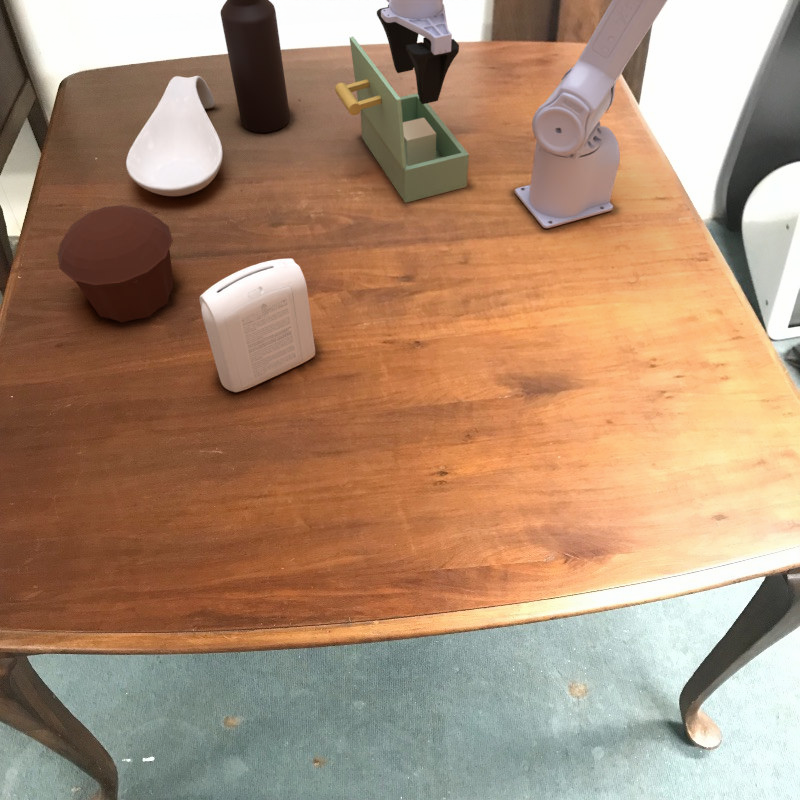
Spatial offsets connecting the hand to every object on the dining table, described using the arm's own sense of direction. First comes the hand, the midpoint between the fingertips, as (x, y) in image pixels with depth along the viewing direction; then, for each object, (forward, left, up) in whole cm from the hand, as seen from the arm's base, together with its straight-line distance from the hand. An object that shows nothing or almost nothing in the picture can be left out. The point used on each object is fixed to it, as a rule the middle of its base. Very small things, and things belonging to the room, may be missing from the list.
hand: (416, 85), depth 93 cm
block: (0, 0, -10) cm, 10 cm away
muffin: (+38, +11, -11) cm, 41 cm away
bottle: (+16, -17, -11) cm, 25 cm away
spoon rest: (+27, -13, -11) cm, 32 cm away
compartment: (0, 0, -10) cm, 10 cm away
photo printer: (+28, +27, -11) cm, 40 cm away
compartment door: (+5, 0, -1) cm, 5 cm away
